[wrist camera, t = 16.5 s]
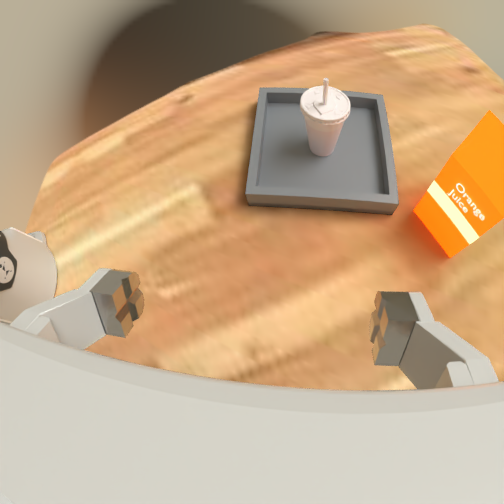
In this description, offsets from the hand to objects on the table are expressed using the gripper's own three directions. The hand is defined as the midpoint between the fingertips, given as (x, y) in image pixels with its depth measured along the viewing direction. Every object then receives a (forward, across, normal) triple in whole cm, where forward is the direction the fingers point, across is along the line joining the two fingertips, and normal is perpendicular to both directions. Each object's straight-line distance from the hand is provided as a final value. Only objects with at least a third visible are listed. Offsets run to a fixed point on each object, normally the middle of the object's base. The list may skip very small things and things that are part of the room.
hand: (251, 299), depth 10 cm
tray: (+40, -4, +1) cm, 40 cm away
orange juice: (+33, -23, +9) cm, 41 cm away
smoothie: (+40, -4, +1) cm, 40 cm away
